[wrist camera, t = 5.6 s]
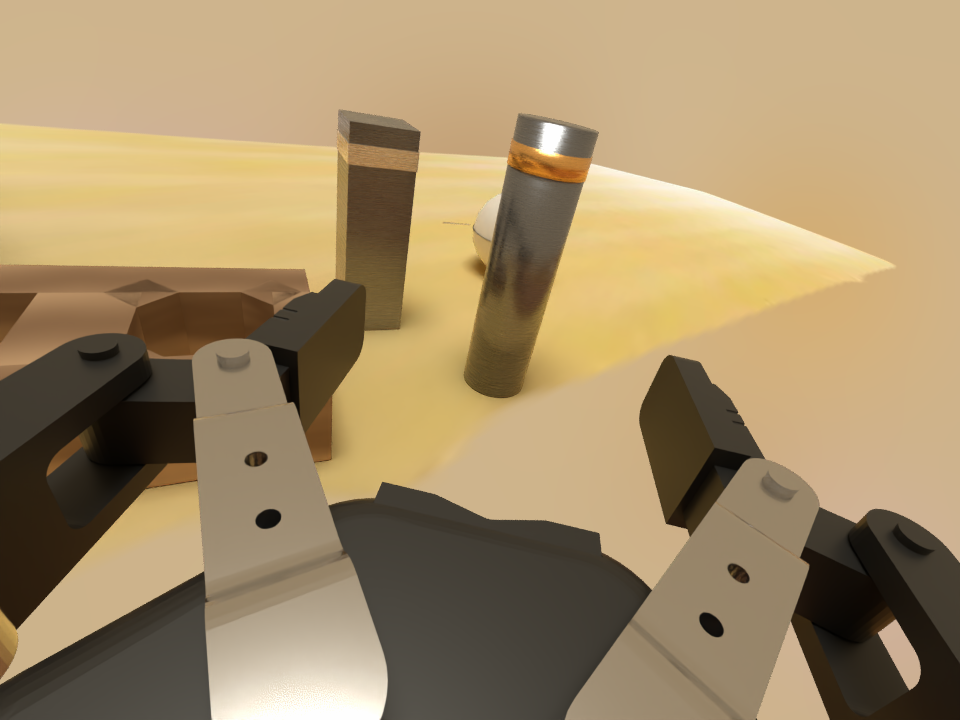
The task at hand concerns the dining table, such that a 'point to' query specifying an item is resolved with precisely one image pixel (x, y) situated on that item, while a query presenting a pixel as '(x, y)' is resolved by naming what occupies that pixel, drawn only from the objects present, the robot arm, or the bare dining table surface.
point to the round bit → (526, 248)
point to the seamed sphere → (485, 227)
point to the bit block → (144, 320)
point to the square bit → (375, 209)
